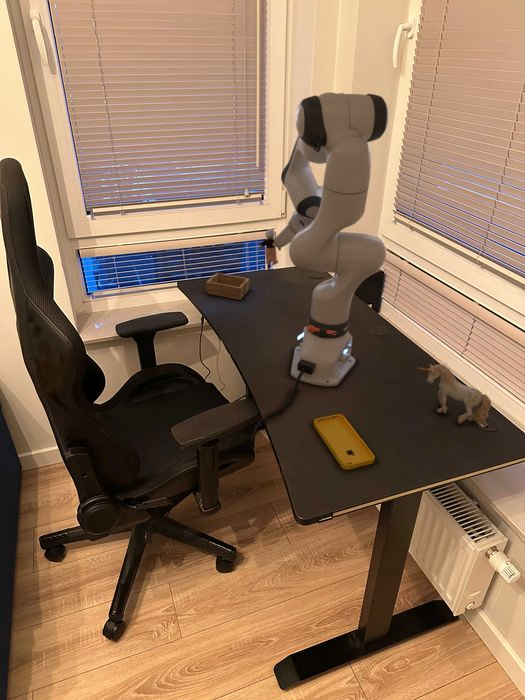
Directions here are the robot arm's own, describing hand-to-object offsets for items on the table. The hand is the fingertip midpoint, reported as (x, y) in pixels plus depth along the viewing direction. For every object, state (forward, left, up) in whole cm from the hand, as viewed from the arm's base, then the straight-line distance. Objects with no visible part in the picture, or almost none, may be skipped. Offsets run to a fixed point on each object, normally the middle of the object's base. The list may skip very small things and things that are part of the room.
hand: (275, 244), depth 177 cm
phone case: (-69, -41, -21) cm, 83 cm away
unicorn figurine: (-51, -64, -21) cm, 84 cm away
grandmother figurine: (+1, +2, -8) cm, 8 cm away
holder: (-3, +17, -20) cm, 27 cm away
